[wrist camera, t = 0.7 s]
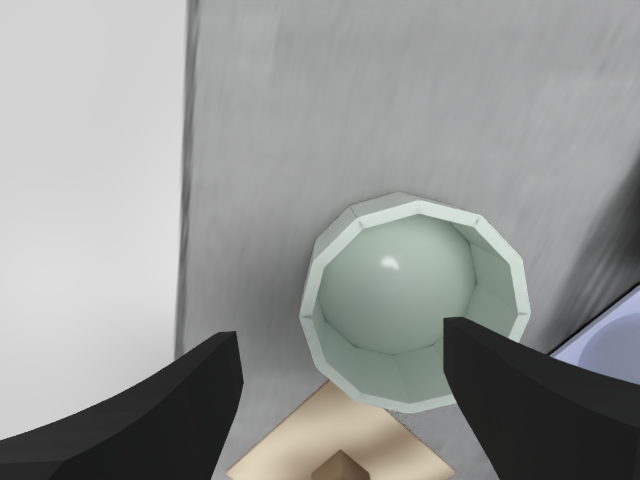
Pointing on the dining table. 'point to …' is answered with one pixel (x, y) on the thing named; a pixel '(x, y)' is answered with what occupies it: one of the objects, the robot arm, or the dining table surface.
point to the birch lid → (339, 445)
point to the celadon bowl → (405, 296)
